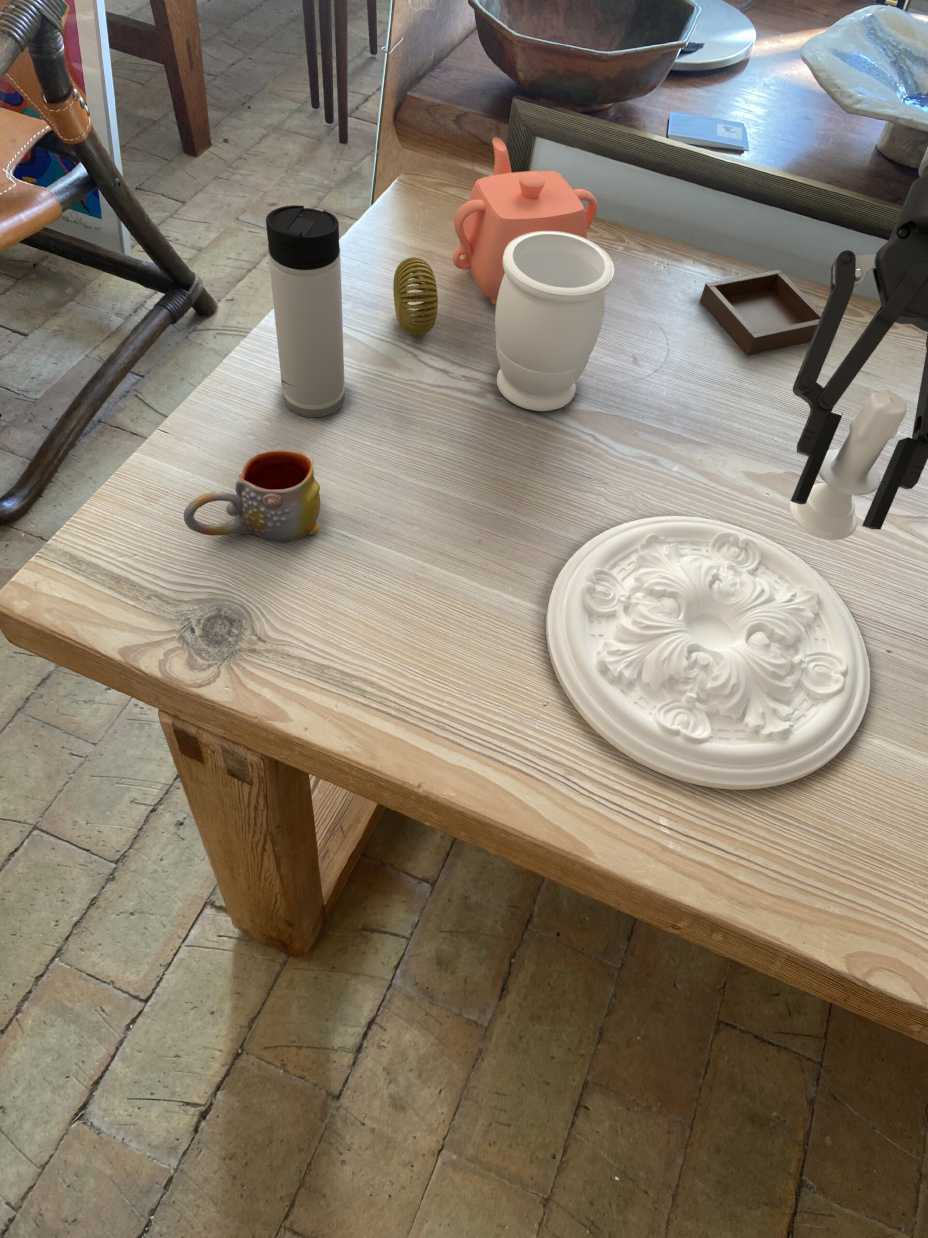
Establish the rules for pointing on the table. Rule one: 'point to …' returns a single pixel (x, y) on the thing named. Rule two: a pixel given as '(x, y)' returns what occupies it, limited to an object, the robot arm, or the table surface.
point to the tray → (762, 311)
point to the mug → (267, 499)
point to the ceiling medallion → (707, 652)
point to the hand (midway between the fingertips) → (834, 514)
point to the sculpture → (415, 296)
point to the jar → (548, 316)
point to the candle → (850, 469)
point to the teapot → (514, 216)
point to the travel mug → (307, 307)
